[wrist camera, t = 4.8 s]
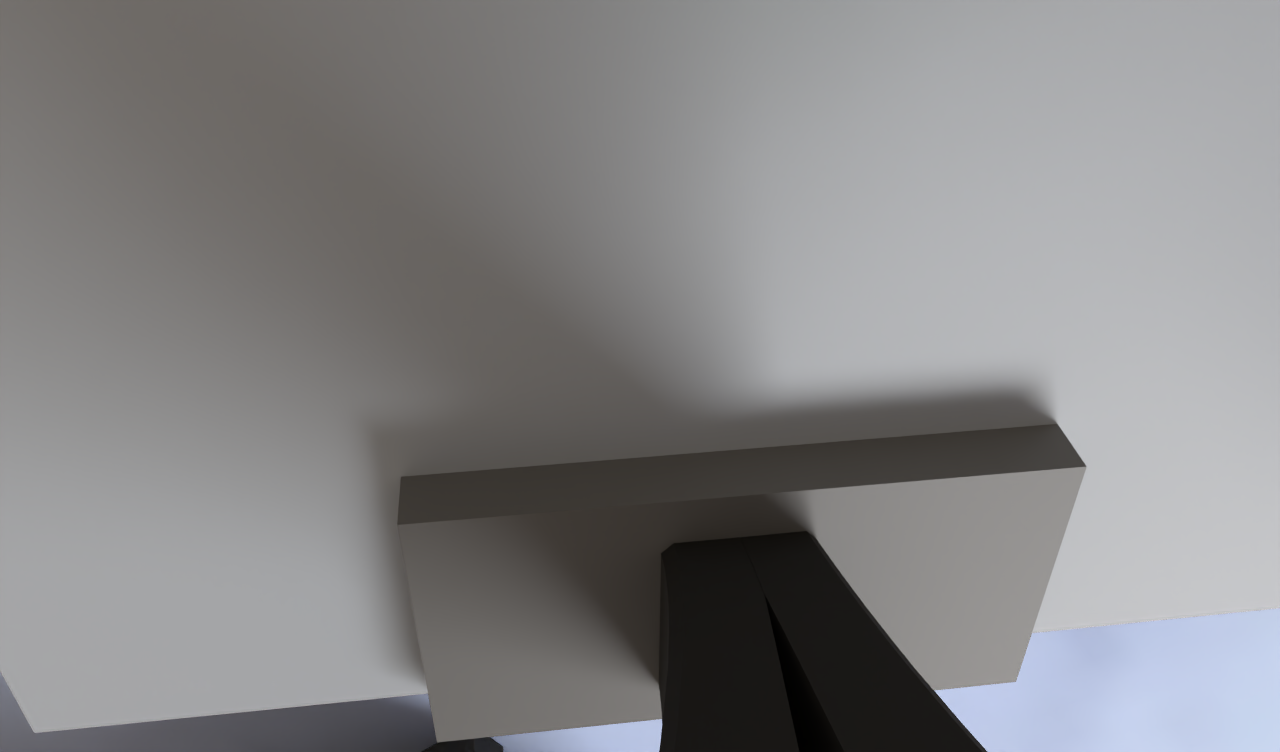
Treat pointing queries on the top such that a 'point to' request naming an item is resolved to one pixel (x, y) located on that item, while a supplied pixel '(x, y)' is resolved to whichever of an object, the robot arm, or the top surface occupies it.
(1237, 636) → the top surface
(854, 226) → the level plate
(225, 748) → the top surface
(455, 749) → the scope
